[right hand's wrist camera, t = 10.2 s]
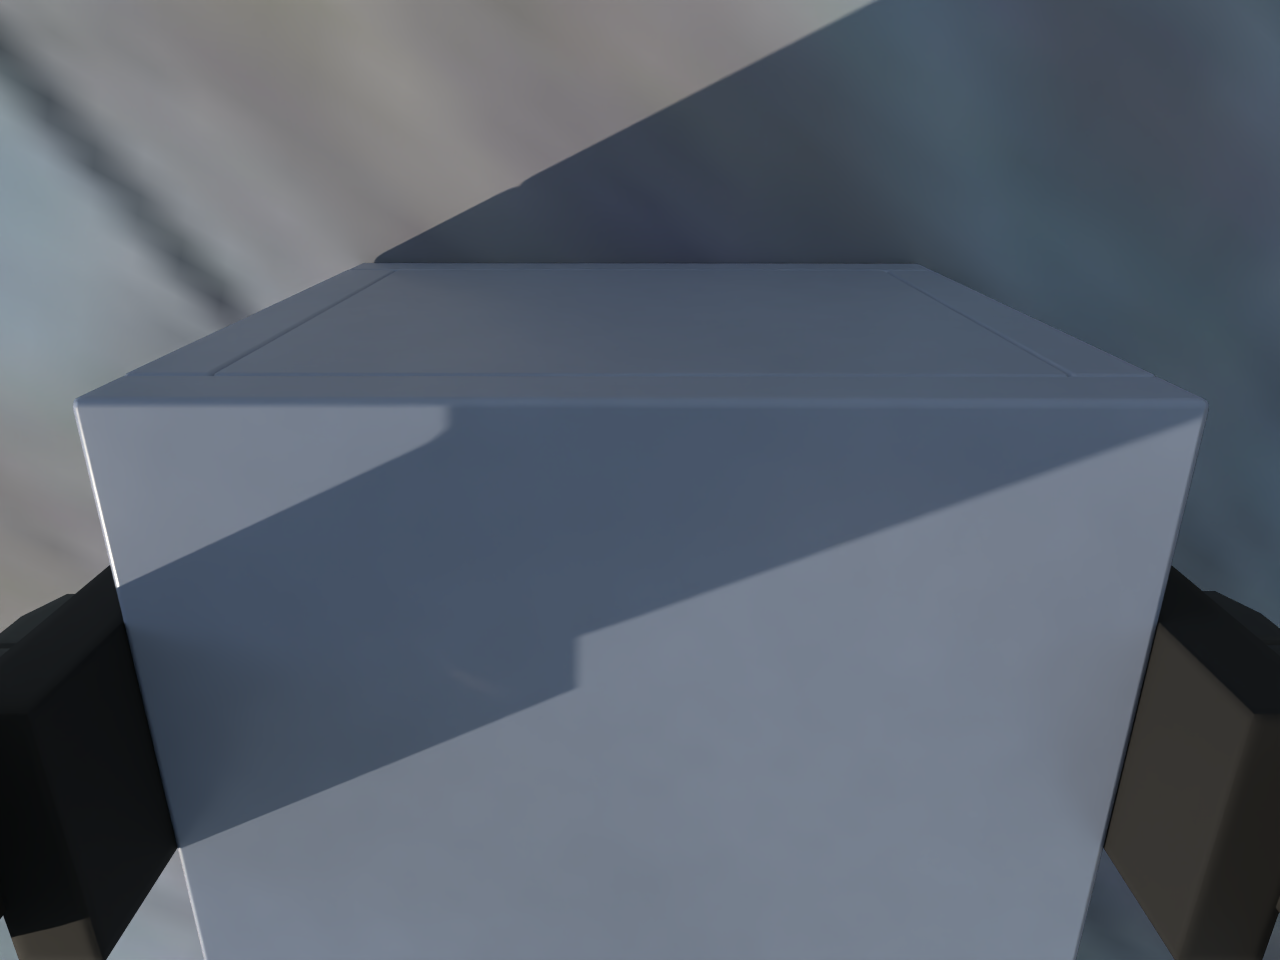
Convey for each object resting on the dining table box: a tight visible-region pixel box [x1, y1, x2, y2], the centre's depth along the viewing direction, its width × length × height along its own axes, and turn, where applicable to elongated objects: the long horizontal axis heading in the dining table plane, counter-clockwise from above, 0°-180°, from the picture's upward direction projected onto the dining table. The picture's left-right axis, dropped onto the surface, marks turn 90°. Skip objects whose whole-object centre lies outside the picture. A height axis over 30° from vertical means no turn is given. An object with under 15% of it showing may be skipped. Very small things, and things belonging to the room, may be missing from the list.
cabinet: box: [73, 263, 1209, 960], centre depth 15 cm, size 20×10×8 cm, turn 0°
